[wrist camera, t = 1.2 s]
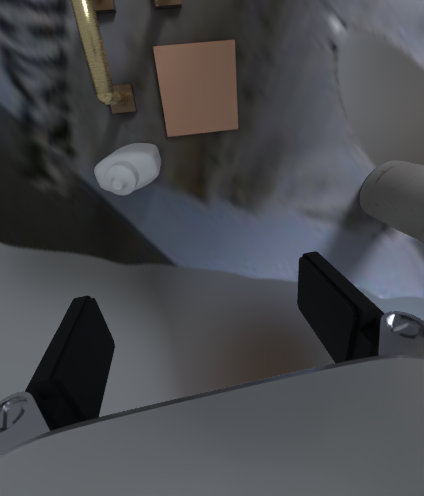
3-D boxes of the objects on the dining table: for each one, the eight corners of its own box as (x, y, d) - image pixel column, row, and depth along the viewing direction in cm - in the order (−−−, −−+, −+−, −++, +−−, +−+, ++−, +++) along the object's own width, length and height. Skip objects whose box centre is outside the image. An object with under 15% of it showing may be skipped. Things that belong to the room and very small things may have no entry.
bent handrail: (80, -23, 22) (32, -95, 14) (177, -29, 23) (181, -101, 15) (113, 113, 27) (91, 113, 19) (192, 105, 28) (201, 102, 20)
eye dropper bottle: (156, 184, 31) (149, 220, 20) (108, 171, 29) (73, 203, 19) (164, 147, 29) (161, 166, 19) (113, 131, 28) (78, 143, 17)
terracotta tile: (153, 47, 25) (152, 46, 24) (233, 40, 25) (234, 39, 25) (167, 136, 29) (167, 137, 28) (237, 128, 29) (238, 128, 29)
